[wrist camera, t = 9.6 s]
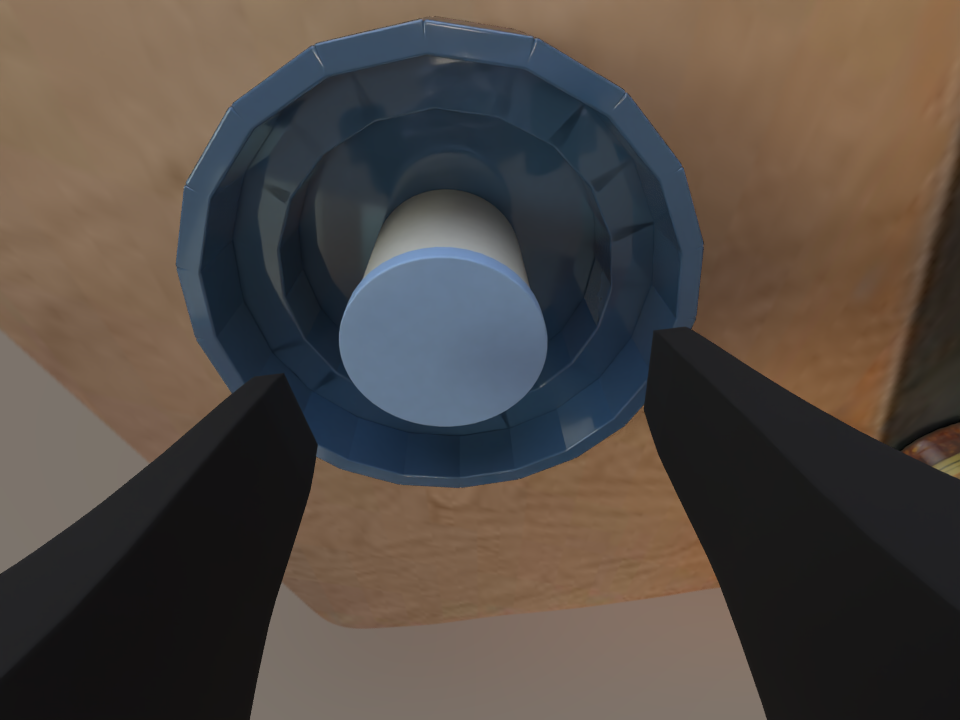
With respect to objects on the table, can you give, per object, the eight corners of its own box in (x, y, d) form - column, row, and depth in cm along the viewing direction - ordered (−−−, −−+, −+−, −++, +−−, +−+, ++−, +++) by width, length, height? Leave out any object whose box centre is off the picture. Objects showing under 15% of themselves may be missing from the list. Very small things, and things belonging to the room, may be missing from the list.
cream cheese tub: (555, 257, 17) (590, 346, 13) (454, 350, 19) (453, 453, 15) (439, 146, 15) (431, 207, 10) (340, 266, 17) (297, 359, 12)
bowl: (718, 244, 18) (795, 314, 14) (463, 443, 23) (464, 532, 19) (423, -130, 11) (404, -205, 7) (177, 265, 17) (93, 343, 13)
